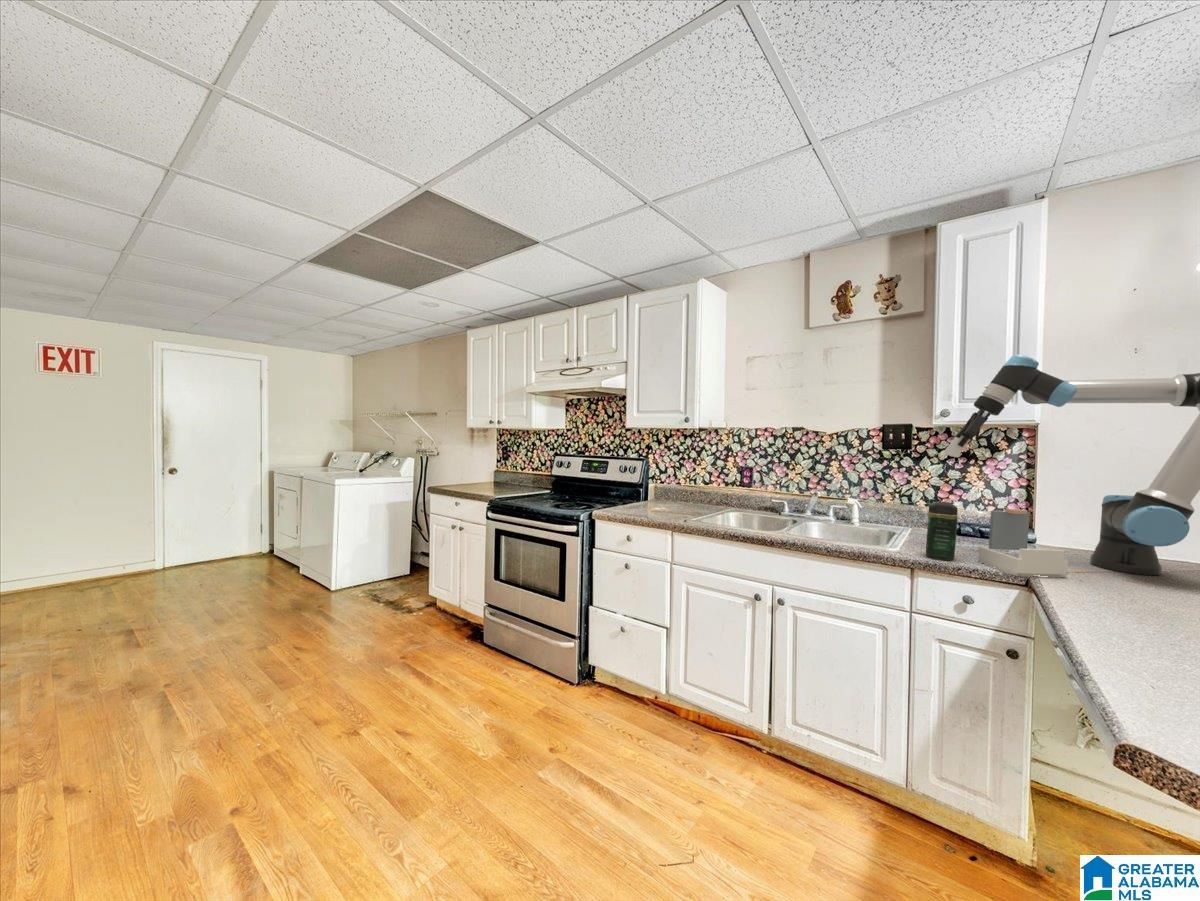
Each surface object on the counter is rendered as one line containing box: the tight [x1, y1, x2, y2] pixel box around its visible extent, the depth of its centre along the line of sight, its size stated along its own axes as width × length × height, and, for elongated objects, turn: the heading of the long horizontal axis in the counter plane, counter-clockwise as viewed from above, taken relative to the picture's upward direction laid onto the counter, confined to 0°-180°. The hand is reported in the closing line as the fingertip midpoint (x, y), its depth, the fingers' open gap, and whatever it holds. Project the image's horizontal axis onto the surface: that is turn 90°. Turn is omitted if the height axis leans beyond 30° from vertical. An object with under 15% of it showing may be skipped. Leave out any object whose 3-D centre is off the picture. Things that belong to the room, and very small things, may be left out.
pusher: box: [988, 508, 1030, 551], centre depth 148 cm, size 11×4×13 cm, turn 88°
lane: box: [977, 546, 1069, 579], centre depth 145 cm, size 14×15×8 cm
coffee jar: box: [925, 500, 959, 561], centre depth 157 cm, size 10×8×19 cm
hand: (949, 454), depth 161 cm, fingers open, 13 cm apart
